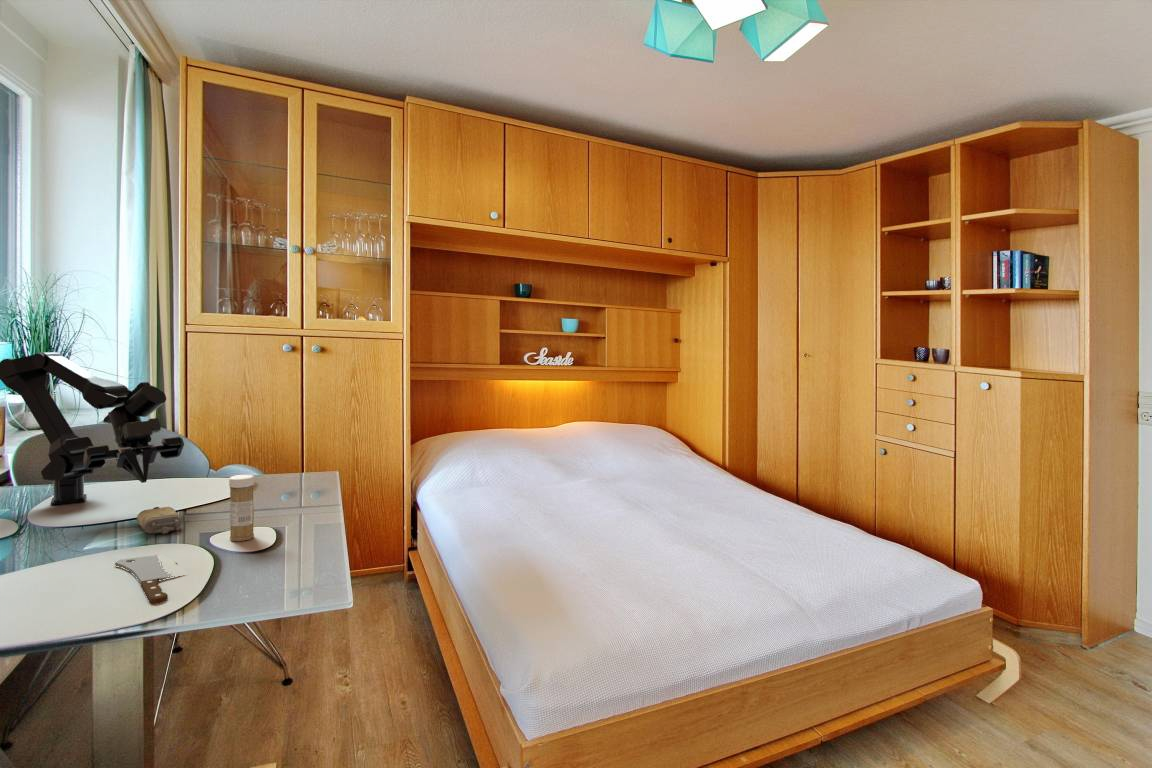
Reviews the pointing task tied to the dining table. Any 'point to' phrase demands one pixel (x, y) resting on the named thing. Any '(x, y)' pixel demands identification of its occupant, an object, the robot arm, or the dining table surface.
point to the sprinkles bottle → (241, 507)
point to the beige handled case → (159, 520)
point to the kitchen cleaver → (147, 575)
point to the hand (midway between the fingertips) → (144, 481)
